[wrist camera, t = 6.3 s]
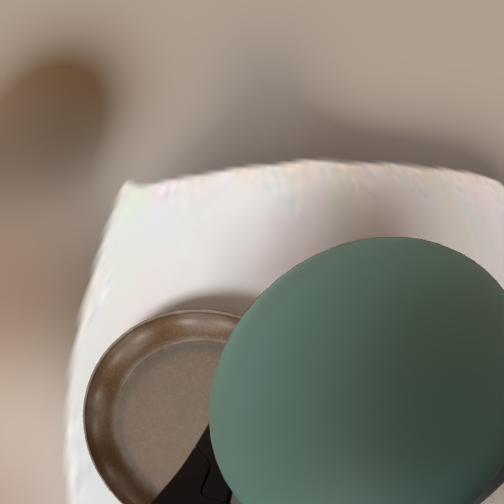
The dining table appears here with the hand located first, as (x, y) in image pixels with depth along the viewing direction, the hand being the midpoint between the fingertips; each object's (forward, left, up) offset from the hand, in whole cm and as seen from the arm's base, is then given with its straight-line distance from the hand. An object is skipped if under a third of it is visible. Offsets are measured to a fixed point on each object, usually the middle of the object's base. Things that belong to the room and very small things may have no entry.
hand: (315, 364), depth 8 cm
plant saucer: (-3, +8, -14) cm, 17 cm away
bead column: (-1, 0, -7) cm, 7 cm away
